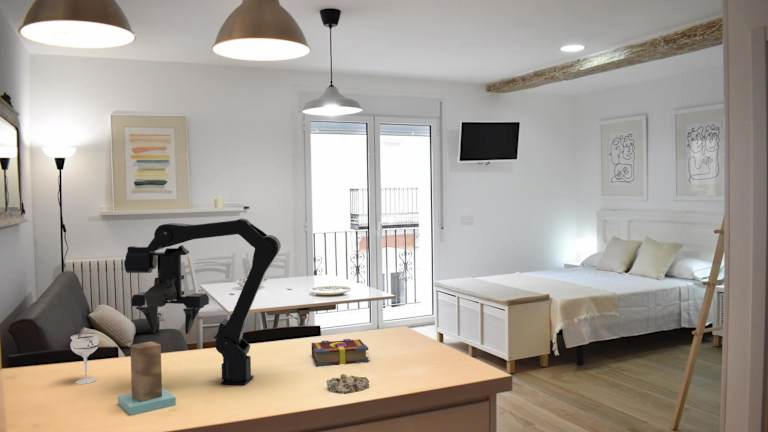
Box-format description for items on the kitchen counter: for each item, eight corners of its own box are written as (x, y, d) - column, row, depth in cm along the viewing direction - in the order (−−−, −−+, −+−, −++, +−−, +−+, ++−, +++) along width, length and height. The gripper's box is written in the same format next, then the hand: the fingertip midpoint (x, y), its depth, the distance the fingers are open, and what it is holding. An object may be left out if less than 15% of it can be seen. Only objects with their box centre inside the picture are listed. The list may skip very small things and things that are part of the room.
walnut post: (153, 391, 143) (151, 341, 143) (162, 396, 139) (160, 344, 139) (131, 396, 140) (130, 345, 139) (140, 401, 136) (138, 348, 136)
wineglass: (71, 379, 159) (69, 334, 159) (99, 375, 163) (97, 331, 162) (72, 386, 154) (70, 340, 153) (101, 382, 157) (99, 336, 156)
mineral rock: (328, 387, 144) (325, 369, 151) (327, 403, 145) (324, 384, 153) (372, 385, 146) (367, 367, 153) (371, 401, 147) (366, 382, 155)
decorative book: (311, 357, 179) (310, 340, 179) (364, 352, 183) (363, 336, 183) (316, 367, 168) (315, 350, 168) (372, 363, 172) (372, 345, 172)
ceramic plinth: (161, 396, 147) (161, 386, 147) (175, 407, 139) (175, 397, 139) (118, 406, 141) (117, 395, 140) (130, 418, 133) (130, 407, 133)
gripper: (117, 276, 147) (118, 339, 148) (188, 277, 144) (189, 342, 145) (142, 270, 158) (144, 329, 159) (209, 271, 155) (210, 331, 156)
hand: (170, 333), depth 154 cm, fingers open, 9 cm apart
